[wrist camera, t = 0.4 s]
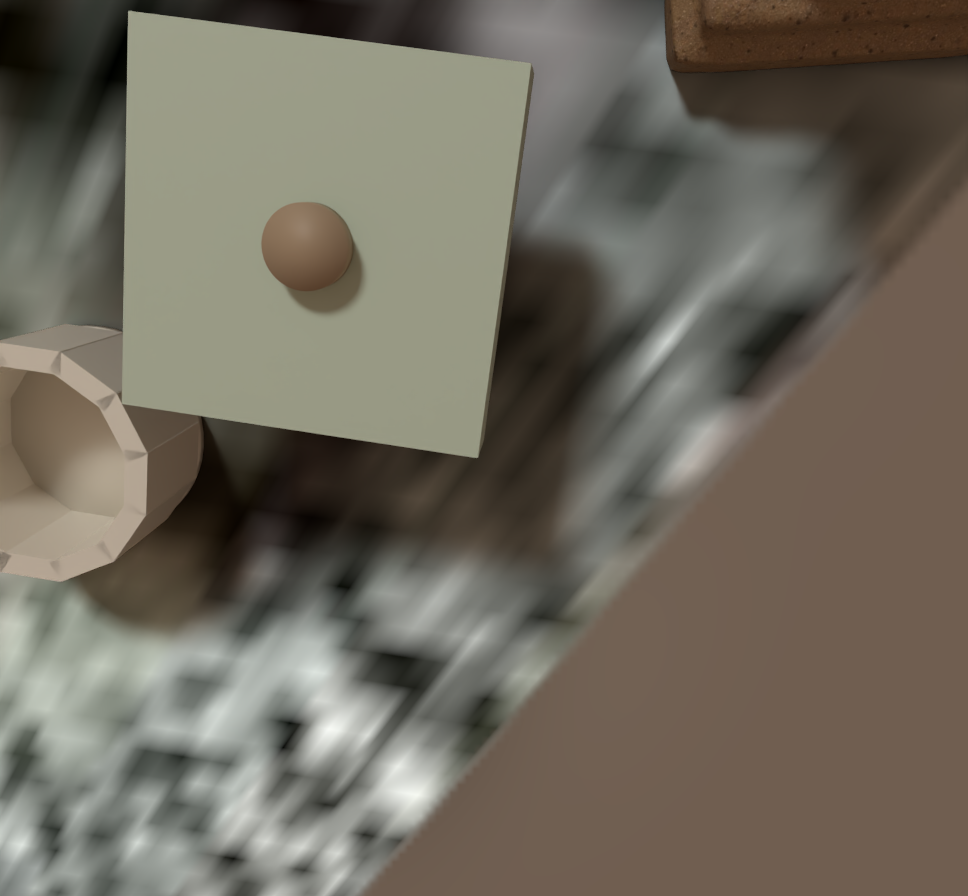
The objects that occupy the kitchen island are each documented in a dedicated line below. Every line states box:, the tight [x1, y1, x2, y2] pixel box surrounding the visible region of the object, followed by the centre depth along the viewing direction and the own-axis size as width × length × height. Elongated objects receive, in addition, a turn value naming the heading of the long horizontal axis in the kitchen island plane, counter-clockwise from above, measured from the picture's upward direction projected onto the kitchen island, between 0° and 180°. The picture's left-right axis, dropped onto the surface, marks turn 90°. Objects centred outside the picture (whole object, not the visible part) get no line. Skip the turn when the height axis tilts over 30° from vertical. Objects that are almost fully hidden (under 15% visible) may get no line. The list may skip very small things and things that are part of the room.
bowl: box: [0, 324, 204, 582], centre depth 33 cm, size 8×8×5 cm
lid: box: [122, 11, 534, 458], centre depth 26 cm, size 11×11×3 cm
